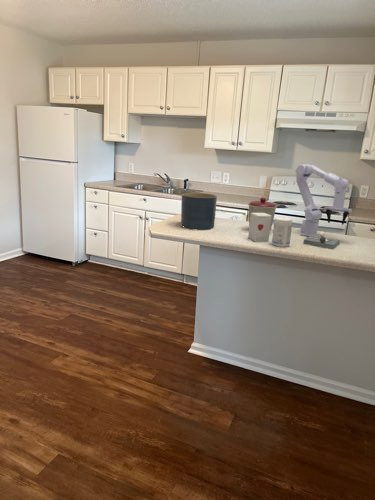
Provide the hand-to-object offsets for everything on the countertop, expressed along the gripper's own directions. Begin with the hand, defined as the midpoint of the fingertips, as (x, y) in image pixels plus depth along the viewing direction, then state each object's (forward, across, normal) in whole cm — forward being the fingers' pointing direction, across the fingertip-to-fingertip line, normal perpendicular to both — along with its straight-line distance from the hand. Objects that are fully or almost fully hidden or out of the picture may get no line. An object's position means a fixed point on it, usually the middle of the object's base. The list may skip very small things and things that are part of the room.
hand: (335, 223), depth 215 cm
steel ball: (+9, -1, -13) cm, 16 cm away
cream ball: (+6, -6, -6) cm, 11 cm away
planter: (+10, -78, -26) cm, 83 cm away
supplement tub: (+10, -20, -32) cm, 39 cm away
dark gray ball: (+6, -2, -19) cm, 20 cm away
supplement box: (+10, -34, -30) cm, 47 cm away
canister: (+10, -44, -7) cm, 45 cm away
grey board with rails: (+10, -4, -13) cm, 17 cm away
